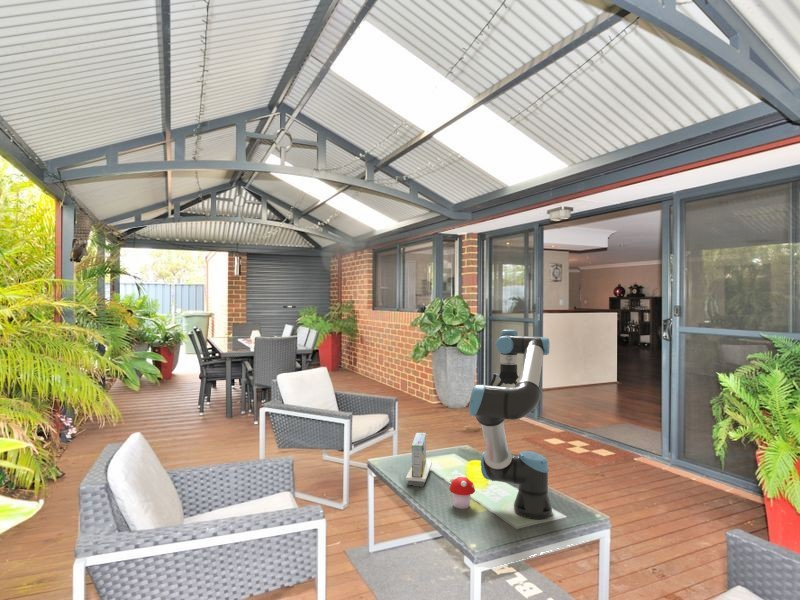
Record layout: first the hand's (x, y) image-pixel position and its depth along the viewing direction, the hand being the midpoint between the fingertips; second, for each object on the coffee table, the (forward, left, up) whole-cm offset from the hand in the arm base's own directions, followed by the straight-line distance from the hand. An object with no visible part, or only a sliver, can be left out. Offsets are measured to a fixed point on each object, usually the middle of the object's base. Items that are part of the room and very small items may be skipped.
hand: (508, 410), depth 221 cm
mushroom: (-21, +19, -37) cm, 47 cm away
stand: (+6, +42, -37) cm, 56 cm away
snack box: (+6, +42, -33) cm, 53 cm away
